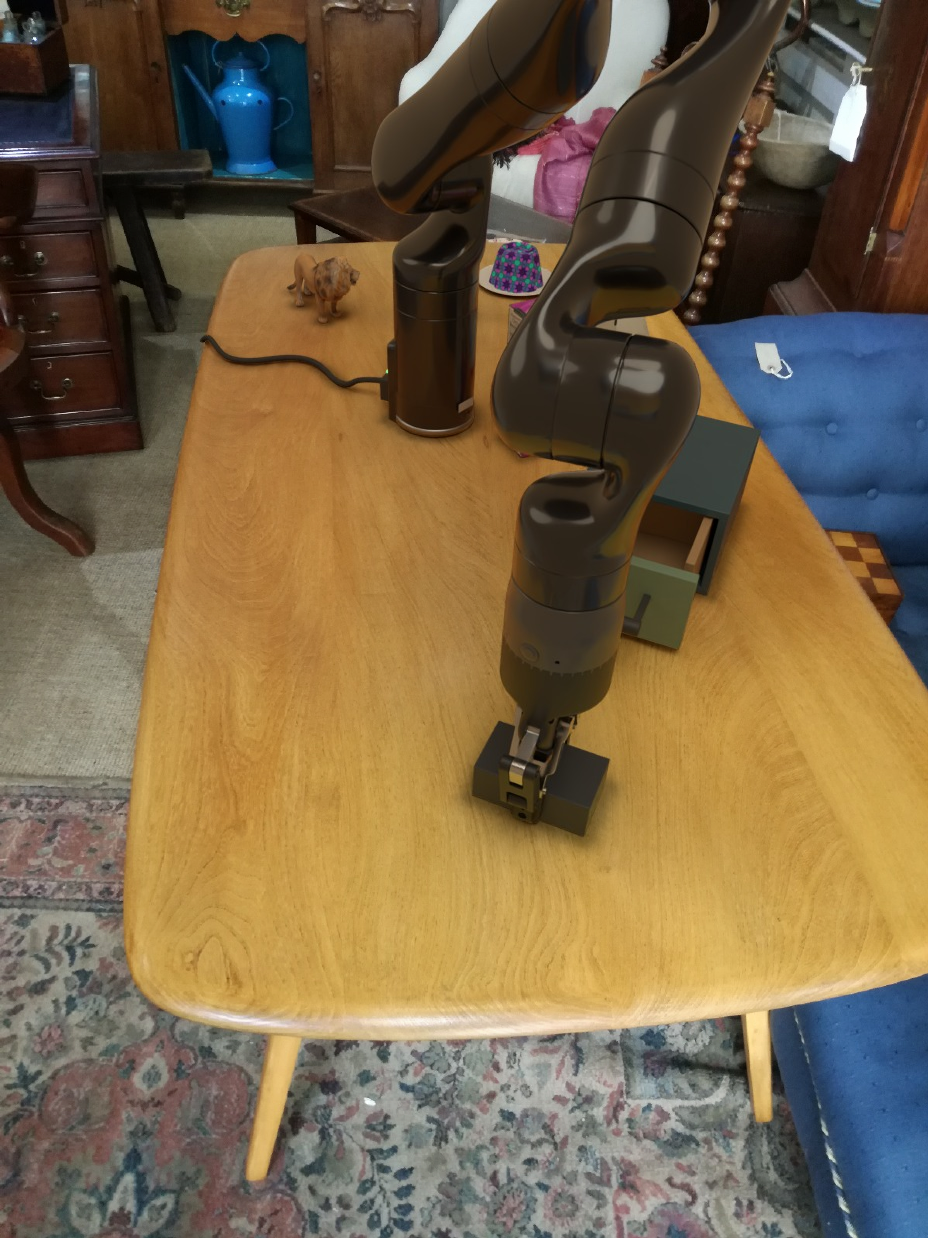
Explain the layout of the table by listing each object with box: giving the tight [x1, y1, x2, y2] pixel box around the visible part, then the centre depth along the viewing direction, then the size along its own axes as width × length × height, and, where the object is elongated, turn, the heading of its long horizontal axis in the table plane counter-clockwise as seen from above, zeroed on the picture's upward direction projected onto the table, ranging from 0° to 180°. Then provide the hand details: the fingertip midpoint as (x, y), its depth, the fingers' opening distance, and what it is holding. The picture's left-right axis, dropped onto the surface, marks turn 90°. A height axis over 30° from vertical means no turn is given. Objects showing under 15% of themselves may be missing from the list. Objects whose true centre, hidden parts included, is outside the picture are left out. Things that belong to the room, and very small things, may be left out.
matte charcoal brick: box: [471, 720, 611, 837], centre depth 70 cm, size 9×5×4 cm, turn 67°
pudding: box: [479, 241, 553, 297], centre depth 138 cm, size 12×12×5 cm
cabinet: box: [586, 414, 762, 596], centre depth 93 cm, size 16×14×10 cm
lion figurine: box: [286, 252, 361, 324], centre depth 128 cm, size 15×5×9 cm, turn 44°
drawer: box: [621, 501, 717, 651], centre depth 84 cm, size 19×12×8 cm, turn 157°
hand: (538, 787), depth 71 cm, fingers closed on matte charcoal brick, 5 cm apart
